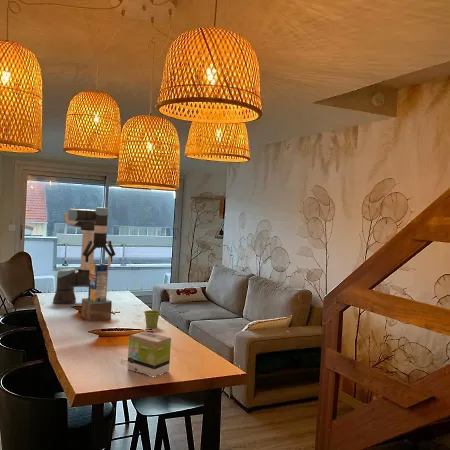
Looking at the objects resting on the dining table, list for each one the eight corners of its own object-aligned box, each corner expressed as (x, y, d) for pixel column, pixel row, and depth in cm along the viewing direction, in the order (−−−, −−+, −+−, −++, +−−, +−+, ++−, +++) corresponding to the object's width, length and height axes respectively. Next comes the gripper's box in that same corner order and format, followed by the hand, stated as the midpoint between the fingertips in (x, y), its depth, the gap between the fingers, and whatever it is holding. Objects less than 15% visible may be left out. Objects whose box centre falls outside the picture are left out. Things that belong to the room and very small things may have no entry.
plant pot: (139, 326, 262) (140, 311, 262) (152, 324, 269) (153, 309, 269) (149, 329, 255) (150, 314, 255) (162, 327, 262) (163, 312, 262)
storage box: (81, 316, 277) (81, 300, 277) (101, 314, 286) (101, 299, 286) (90, 321, 267) (91, 304, 267) (110, 319, 275) (111, 303, 275)
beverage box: (95, 301, 269) (97, 265, 269) (88, 298, 278) (89, 263, 277) (106, 301, 274) (108, 264, 273) (98, 298, 282) (100, 262, 282)
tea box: (126, 370, 188) (128, 334, 187) (142, 364, 196) (144, 330, 196) (154, 378, 180) (156, 341, 180) (169, 372, 188) (171, 336, 188)
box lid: (81, 300, 277) (82, 298, 277) (101, 298, 286) (102, 297, 286) (91, 304, 267) (91, 302, 266) (111, 302, 275) (111, 301, 275)
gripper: (83, 232, 265) (81, 268, 265) (122, 233, 281) (120, 267, 281) (78, 231, 270) (76, 267, 271) (116, 232, 286) (114, 265, 287)
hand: (98, 267), depth 276 cm, fingers open, 13 cm apart
